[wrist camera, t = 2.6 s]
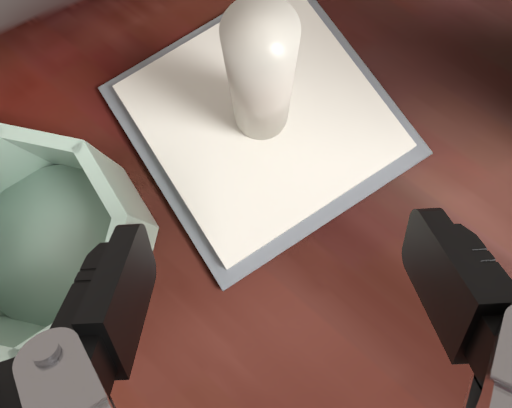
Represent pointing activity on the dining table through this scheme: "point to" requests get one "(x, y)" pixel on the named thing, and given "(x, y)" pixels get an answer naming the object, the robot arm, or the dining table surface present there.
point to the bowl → (53, 223)
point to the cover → (261, 122)
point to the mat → (301, 229)
